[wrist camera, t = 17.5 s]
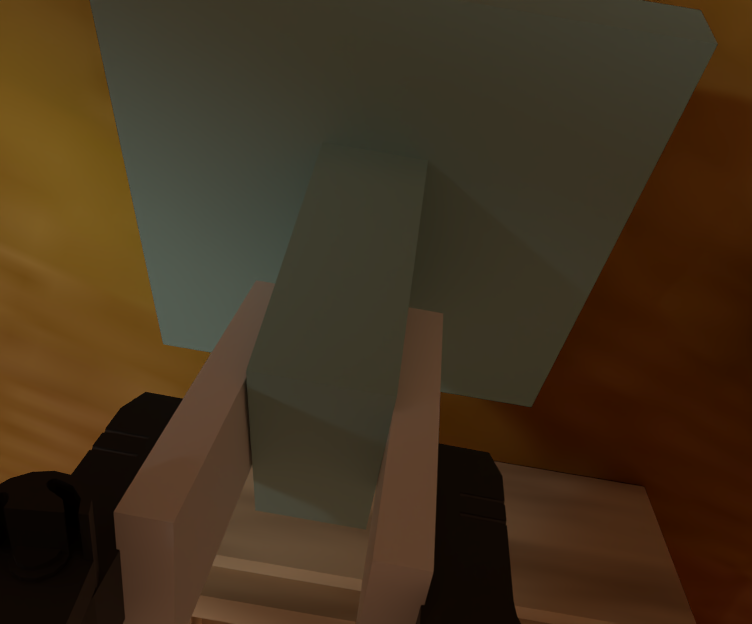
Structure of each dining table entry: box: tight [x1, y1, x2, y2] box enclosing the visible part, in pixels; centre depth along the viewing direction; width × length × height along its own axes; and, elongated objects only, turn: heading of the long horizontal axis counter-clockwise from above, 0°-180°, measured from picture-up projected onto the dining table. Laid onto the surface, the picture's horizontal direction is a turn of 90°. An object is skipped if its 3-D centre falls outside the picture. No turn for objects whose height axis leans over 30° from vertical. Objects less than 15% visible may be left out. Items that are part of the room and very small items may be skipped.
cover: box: [90, 0, 718, 530], centre depth 15 cm, size 12×12×8 cm
